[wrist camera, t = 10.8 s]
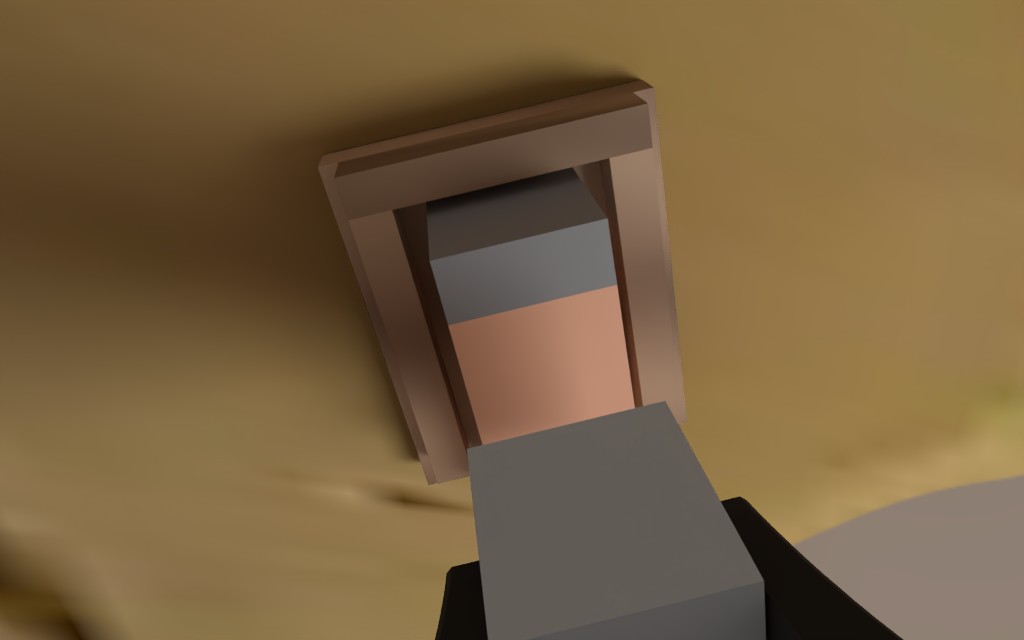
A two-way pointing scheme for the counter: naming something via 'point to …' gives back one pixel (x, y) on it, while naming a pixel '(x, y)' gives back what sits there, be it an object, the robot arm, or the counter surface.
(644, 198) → the jig
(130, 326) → the counter surface
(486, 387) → the two-tone peach block
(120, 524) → the counter surface
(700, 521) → the pale blue-grey cube
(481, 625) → the robot arm
